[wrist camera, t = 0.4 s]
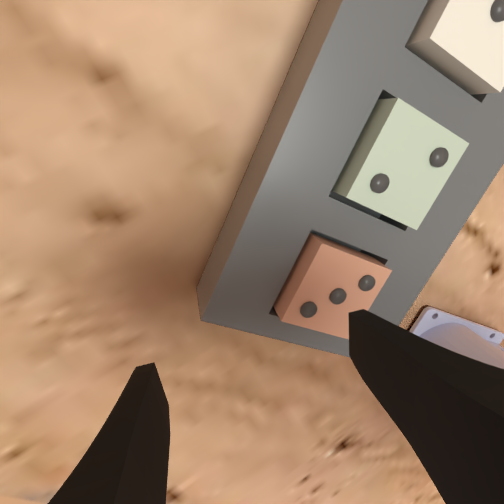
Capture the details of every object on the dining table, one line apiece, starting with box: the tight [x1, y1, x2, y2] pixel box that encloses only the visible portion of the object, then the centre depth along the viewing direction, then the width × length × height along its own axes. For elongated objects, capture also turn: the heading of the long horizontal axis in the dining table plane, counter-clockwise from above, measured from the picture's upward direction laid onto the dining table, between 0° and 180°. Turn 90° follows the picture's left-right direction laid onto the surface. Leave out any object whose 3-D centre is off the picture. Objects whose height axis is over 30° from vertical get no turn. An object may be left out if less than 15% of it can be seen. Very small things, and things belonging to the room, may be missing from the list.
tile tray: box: [196, 0, 504, 357], centre depth 18 cm, size 12×22×4 cm, turn 156°
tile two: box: [331, 98, 469, 230], centre depth 16 cm, size 5×5×2 cm
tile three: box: [273, 232, 392, 339], centre depth 18 cm, size 5×5×2 cm
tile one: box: [405, 0, 504, 95], centre depth 14 cm, size 5×5×2 cm
